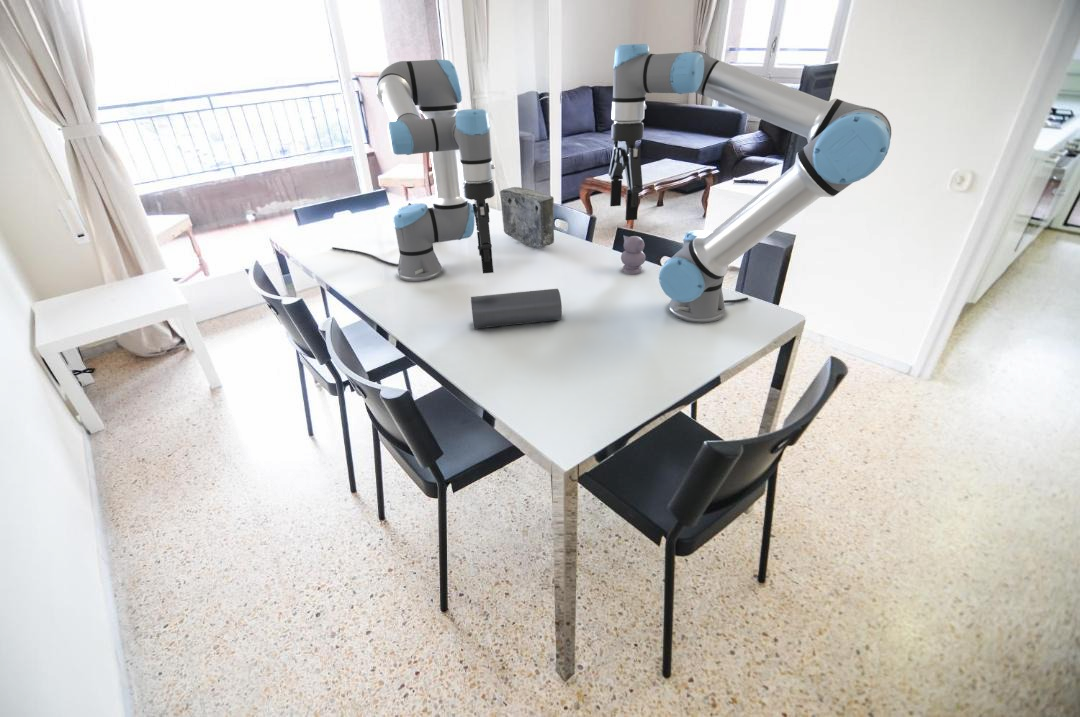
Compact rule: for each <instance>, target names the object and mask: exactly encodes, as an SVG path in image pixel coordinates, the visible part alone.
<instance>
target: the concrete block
mask: <svg viewBox="0 0 1080 717" xmlns="http://www.w3.org/2000/svg"><path fill="white" fill-rule="evenodd" d="M499 193H500V203H501V218H502V225H503V232H504V234H505V235H507V236H508V237H510V238H512V239H514V240H515V241H517V242H520V243H521V244H522V245H525V246H528V247H530V248H536V249H539V248H541V249H542V248H545V247H547V246H550V245H552V244H554V243H555V224H554V223H555V219H554V218H555V209H554V208H555V203H554V201H555V200H554V196H552V195H549V194H547V193H544V192H540V191H537V190H533V189H530V188H524V187H519V186H513V187H507V188H503V189H501V190H500V191H499Z"/></svg>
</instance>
